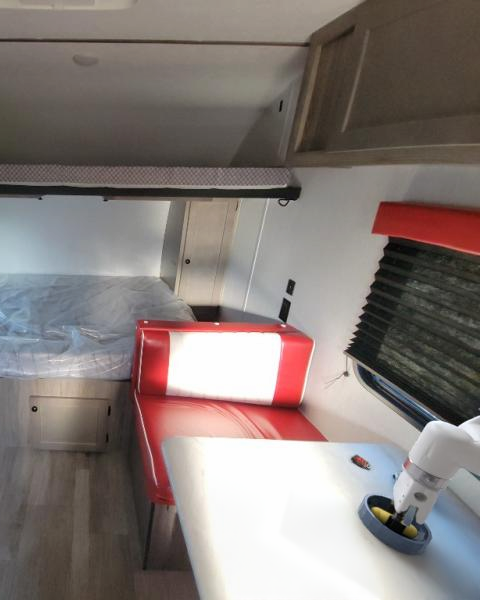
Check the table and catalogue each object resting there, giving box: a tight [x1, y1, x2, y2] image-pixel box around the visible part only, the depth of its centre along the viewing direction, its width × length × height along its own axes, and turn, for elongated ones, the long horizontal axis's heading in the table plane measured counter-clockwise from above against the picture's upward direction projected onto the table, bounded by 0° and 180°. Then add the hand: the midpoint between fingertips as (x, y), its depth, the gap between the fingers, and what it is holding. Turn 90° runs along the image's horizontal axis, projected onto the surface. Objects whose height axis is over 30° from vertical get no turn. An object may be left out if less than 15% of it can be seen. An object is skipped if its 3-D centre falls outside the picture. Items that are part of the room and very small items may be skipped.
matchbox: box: [350, 453, 371, 470], centre depth 103 cm, size 5×5×1 cm
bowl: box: [357, 492, 433, 556], centre depth 83 cm, size 13×13×4 cm
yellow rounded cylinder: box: [370, 507, 418, 538], centre depth 83 cm, size 9×3×3 cm, turn 50°
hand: (391, 524), depth 83 cm, fingers closed on yellow rounded cylinder, 3 cm apart
